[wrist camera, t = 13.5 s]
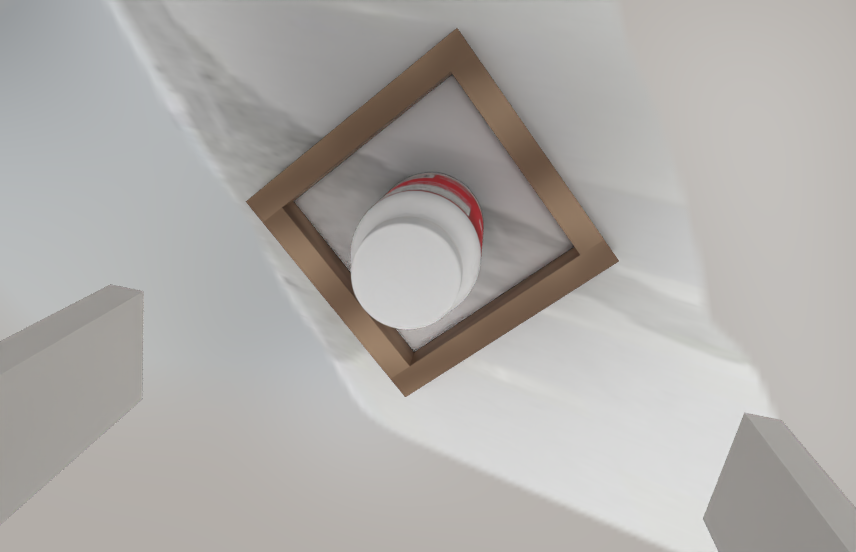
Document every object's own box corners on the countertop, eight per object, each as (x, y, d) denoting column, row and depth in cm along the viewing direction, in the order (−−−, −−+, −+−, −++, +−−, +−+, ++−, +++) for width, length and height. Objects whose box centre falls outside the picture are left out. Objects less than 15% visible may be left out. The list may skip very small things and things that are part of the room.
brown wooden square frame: (259, 195, 36) (245, 201, 34) (459, 31, 32) (457, 27, 30) (409, 382, 38) (405, 397, 36) (612, 251, 34) (619, 261, 32)
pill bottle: (449, 291, 36) (430, 372, 26) (362, 239, 36) (307, 300, 25) (504, 205, 34) (508, 255, 24) (413, 149, 34) (376, 175, 23)
